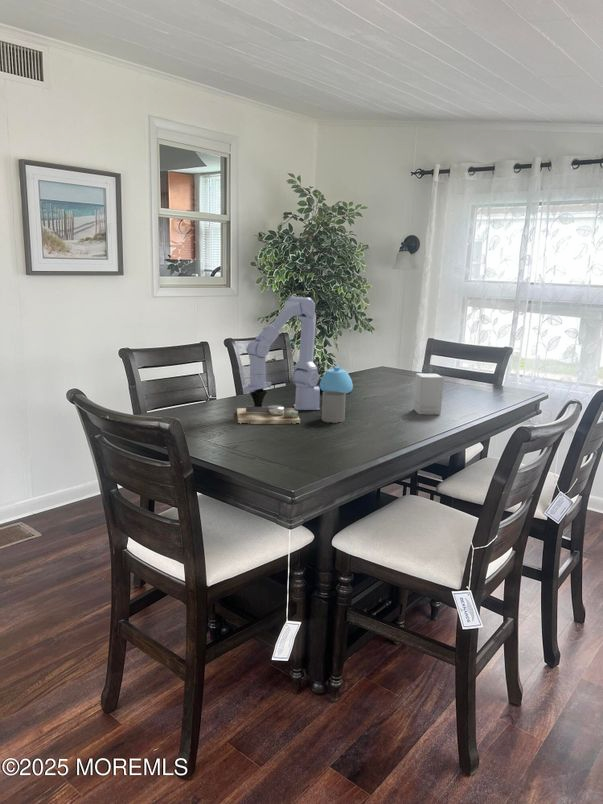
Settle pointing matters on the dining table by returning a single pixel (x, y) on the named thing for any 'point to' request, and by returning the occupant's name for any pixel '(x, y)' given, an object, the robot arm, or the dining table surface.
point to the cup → (333, 406)
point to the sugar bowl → (336, 381)
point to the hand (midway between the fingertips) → (257, 409)
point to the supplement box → (428, 393)
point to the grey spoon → (266, 409)
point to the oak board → (268, 417)
